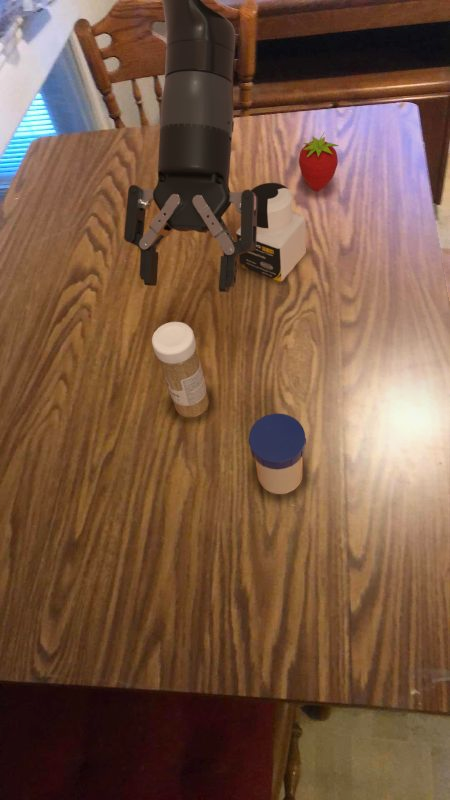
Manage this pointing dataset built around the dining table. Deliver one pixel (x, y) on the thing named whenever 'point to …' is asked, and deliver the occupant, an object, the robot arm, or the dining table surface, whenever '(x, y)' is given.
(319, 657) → the dining table surface
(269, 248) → the medicine bottle
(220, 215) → the robot arm
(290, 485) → the jar
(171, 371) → the sprinkles bottle
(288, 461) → the jar lid
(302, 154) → the strawberry
